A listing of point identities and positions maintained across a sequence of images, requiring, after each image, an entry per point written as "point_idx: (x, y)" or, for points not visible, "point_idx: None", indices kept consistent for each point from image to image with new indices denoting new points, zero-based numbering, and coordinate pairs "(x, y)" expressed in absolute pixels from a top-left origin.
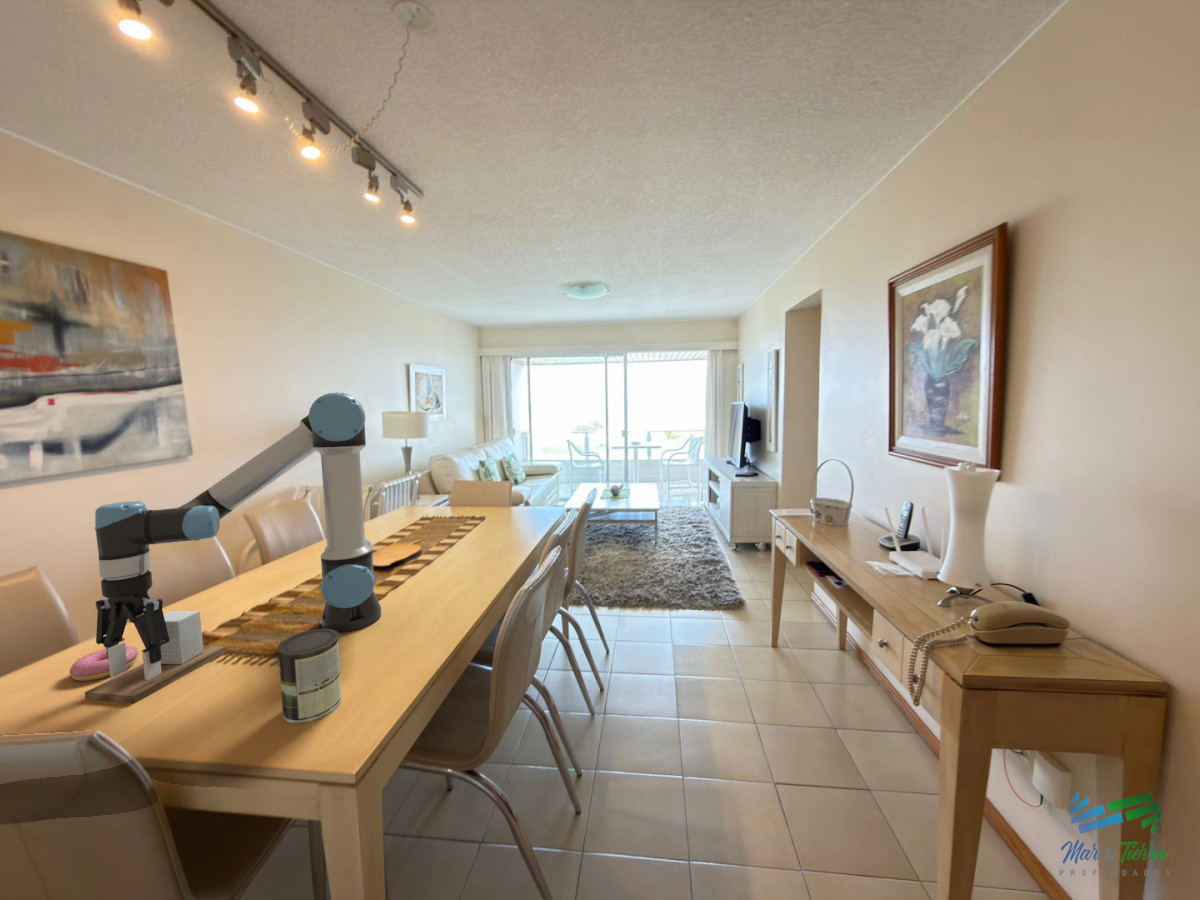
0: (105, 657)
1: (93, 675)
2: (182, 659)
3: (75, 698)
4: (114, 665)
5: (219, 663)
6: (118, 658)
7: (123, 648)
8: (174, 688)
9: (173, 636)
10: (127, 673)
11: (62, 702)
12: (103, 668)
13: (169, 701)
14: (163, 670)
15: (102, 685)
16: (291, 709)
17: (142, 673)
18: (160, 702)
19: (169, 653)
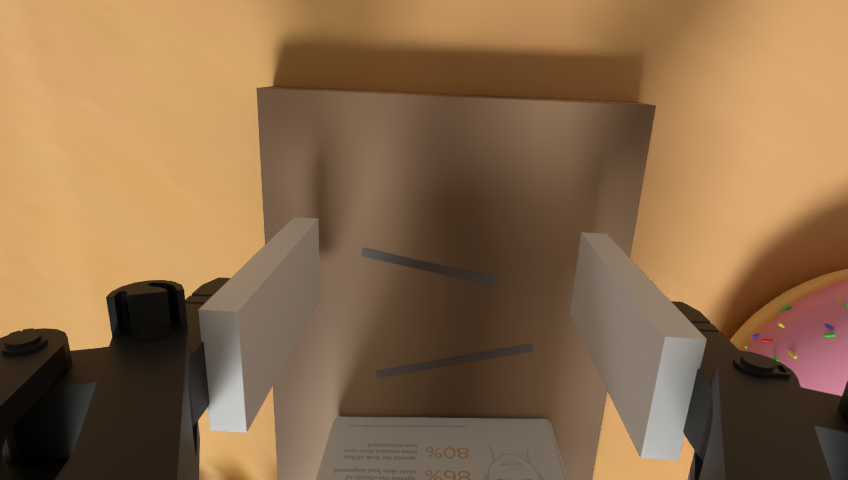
0: None
1: (812, 292)
2: (328, 438)
3: (715, 105)
4: (602, 276)
5: (214, 460)
6: (609, 324)
7: (623, 404)
8: (201, 236)
9: None
10: None
11: (758, 60)
12: (785, 334)
13: (83, 117)
14: (385, 355)
15: (614, 186)
16: None
17: (487, 321)
18: (125, 105)
19: (405, 465)
